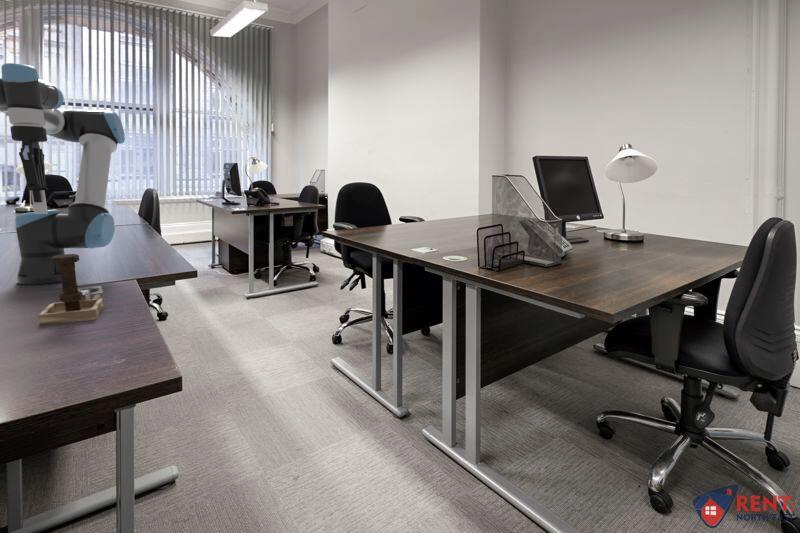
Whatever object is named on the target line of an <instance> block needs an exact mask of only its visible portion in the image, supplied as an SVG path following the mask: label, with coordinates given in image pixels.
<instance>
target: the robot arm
mask: <svg viewBox="0 0 800 533" xmlns="http://www.w3.org/2000/svg"><path fill="white" fill-rule="evenodd" d="M0 68H1V78H0V112H2V113H3V114H5V116H6V117H8V121H9V124H10V125H11V126H10V134H11V140H13V141H15V142H21V147H20V149H19V150H20V151H19V152H18V155H19V157H20V160H21V164H22V168H23V173H24V176H25V181H26V182H25V183H26V186H27V188H26V191H30V193H31V201H32V205H33V206H32V207H33V212H32V211H31V212H26V213H25V212H24V213H20V214H18V215H16V216H15V218H14V219H15V220H14V221H15V230H16V236H17V241H18V242H17V243H18V248H19V253H20V263H19V267H18V270H17V275H16V276H17V278H16V279H17V283H18V284H20V285H26V286H27V285H34V286H35V285H44V284H45V285H47V284H55V283H61V278H60V277H61V275H60V271H59V267H58V264H53V263H52V257H53V256H56V255H63V254H65V249H96V248H104V247H107V246H108V245H110V244H111V242H112V240H113V239H114V235H115V229H116V227H115V219H114V217H113V215H112V214H111V213H110V212H109V210H108V209H107V208H106V198H107V192H108V191H107V189H108V182H109V176H110V175H109V174H110V166H111V157H112V153H114V152H116V150H117V148H118V144H119V145H121V144H124V143H125V138H126V136H125V129H124V127H123V123H122V119H121V118H120V117H119V115H118V113H116V112H115V111H113V110H104V109H101V110H94V109H71V108H70V109H69V108H60V107H62V105H63V103H64V100H65V99H64V94H63V91H62V90H61V89H60V88H59V87H57V85H54V84H53V83H52V82H49V81H45V80H42V79H40V76H39V72H38V70H37V68H36V67H34V66H32V65H29V64H25V63H23V64H22V63H14V62H13V63H12V62H11V63H10V62H9V63H6V62H5V63H3V64H2V65H1V67H0ZM47 135H48V136H50V137H53V138H56V139H60V140H62V141H65V142H70V143H79V144H80V145H81V146H82V151H81V160H80V165H79V173H78V178H77V179H78V180H77V186H76V194H75V199H74V202H73V203H71V204H69V206H68V208H67V213H60V211H59V209H48V206H47V198H46V193H45V192H46V191H47V190H48V191H49V188H48V187H47V183H46V182H47V181H46V170H45V169H46V168H45V154H44V153H43V149H42V148H41V147H40V146H41V145H40V144H39V143H45V142H46V143H47V142H48V136H47Z"/></svg>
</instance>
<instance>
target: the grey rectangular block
mask: <svg viewBox="0 0 800 533" xmlns="http://www.w3.org/2000/svg"><path fill="white" fill-rule="evenodd" d="M77 289H78V291H81V292H82V296H83V297H82V299H81V300H90V299H92V298H93V297H92V294H91V293H92V292H91V288H77Z"/></svg>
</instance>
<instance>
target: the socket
mask: <svg viewBox="0 0 800 533" xmlns="http://www.w3.org/2000/svg"><path fill="white" fill-rule="evenodd" d="M91 298H92V299H90V300H79V303H80V309H81V310H78V311H68V312H66V310H65V305H64V303H65V302H61V301H59V302H50V304H49V305H48V304H47V306H46V307H45V308H44V309H43V310H42V311H41V312H40V313H39V314H37V317H38V318H37V319H38V323H39V324H38V325H39V326H46V325H47V326H49V325H56V324H57V325H58V324H67V323H76V322H84V321H85V322H86V321H87V322H88V321H95V320H97V319H98V318H99V317H100V315H101V313H102V311H103V309H104V308H105V305H104V298H103V297H102V295H101V293H97V294H94V295H93V297H91ZM100 298H101V299H100Z"/></svg>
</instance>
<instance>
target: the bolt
mask: <svg viewBox="0 0 800 533" xmlns="http://www.w3.org/2000/svg"><path fill="white" fill-rule="evenodd" d="M79 261H80V255H79V254H77V253H66V254H63V255H56V256H53V257H52V263H53V264H58V267H59V271H60V275H61V277H60V278H61V282H60V284H61V287H62V288H61V290H62V292H61V293H60V294H59V296H58V298H59V302H65V303H64V305H65V310H66V312H68V311H78V310H81V309H80V303H79V300H81V299H82V297H83V296H82V292H81V291H78V289H79V288H78V281H77V274H76V263H77V262H79Z"/></svg>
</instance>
